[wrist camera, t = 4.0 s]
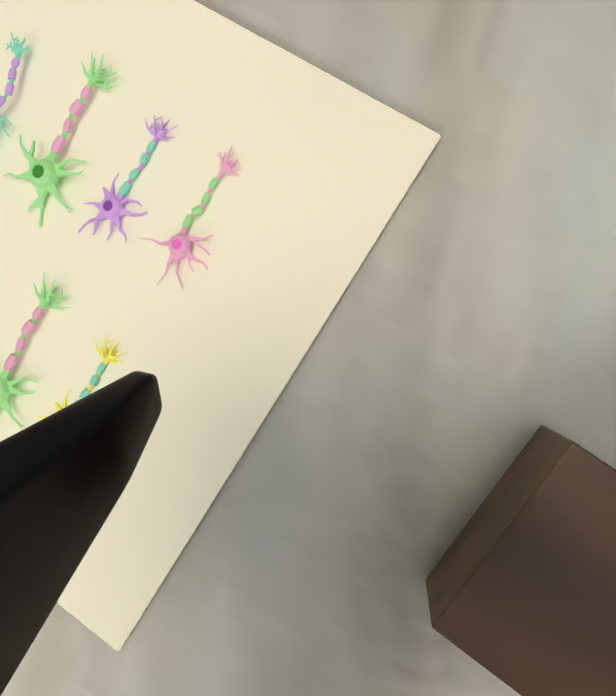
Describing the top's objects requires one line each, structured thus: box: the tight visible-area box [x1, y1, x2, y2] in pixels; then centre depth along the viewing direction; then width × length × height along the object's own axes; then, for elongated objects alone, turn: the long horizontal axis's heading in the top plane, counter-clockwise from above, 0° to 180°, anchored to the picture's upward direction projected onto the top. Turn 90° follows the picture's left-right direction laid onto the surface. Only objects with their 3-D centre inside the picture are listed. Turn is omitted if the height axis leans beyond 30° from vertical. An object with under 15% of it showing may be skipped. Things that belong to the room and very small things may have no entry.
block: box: [426, 425, 616, 696], centre depth 20 cm, size 9×9×4 cm
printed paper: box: [0, 0, 441, 652], centre depth 26 cm, size 30×30×2 cm
